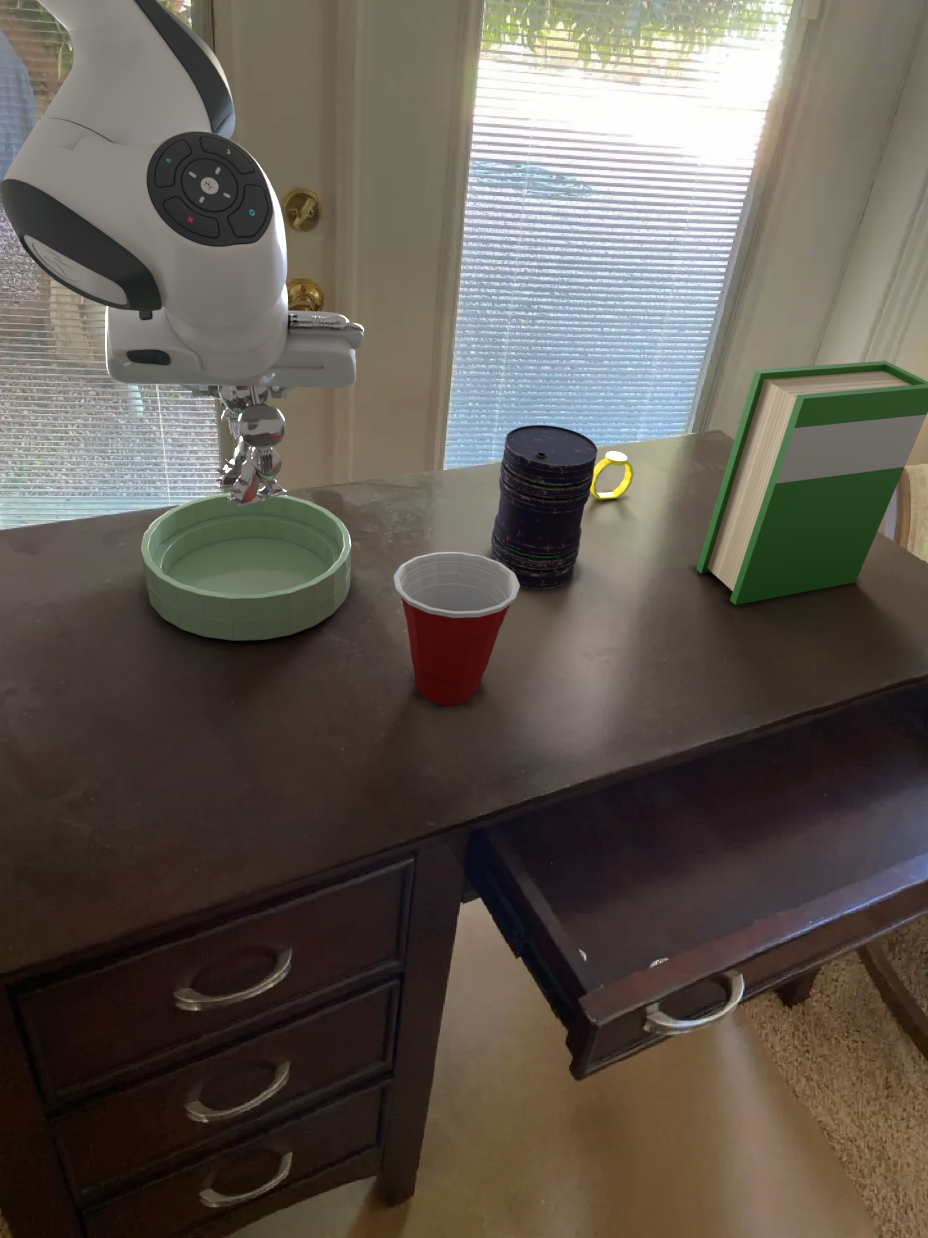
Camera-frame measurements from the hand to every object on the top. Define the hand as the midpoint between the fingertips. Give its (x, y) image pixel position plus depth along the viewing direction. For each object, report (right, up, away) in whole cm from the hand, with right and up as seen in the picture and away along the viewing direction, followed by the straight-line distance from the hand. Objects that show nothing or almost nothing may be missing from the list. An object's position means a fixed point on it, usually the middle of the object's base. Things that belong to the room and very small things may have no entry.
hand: (240, 389), depth 81 cm
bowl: (-2, -17, +12) cm, 21 cm away
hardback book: (+57, -16, +23) cm, 64 cm away
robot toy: (0, -8, +5) cm, 9 cm away
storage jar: (+28, -15, +20) cm, 38 cm away
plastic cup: (+19, -27, +2) cm, 33 cm away
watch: (+39, -5, +36) cm, 53 cm away
